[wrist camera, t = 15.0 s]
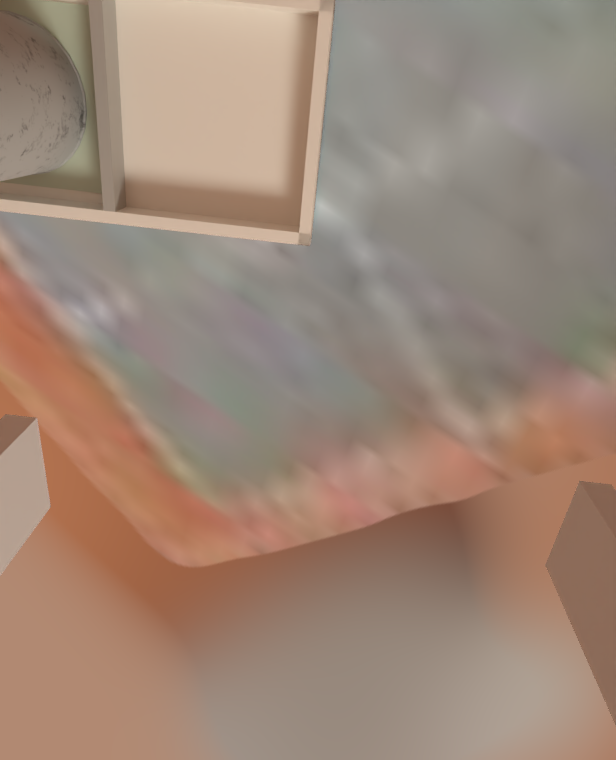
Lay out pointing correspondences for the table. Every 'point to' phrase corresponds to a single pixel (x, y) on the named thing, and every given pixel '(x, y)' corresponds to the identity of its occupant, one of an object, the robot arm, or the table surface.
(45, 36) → the white speckled round cylinder
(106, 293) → the table surface
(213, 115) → the tray
